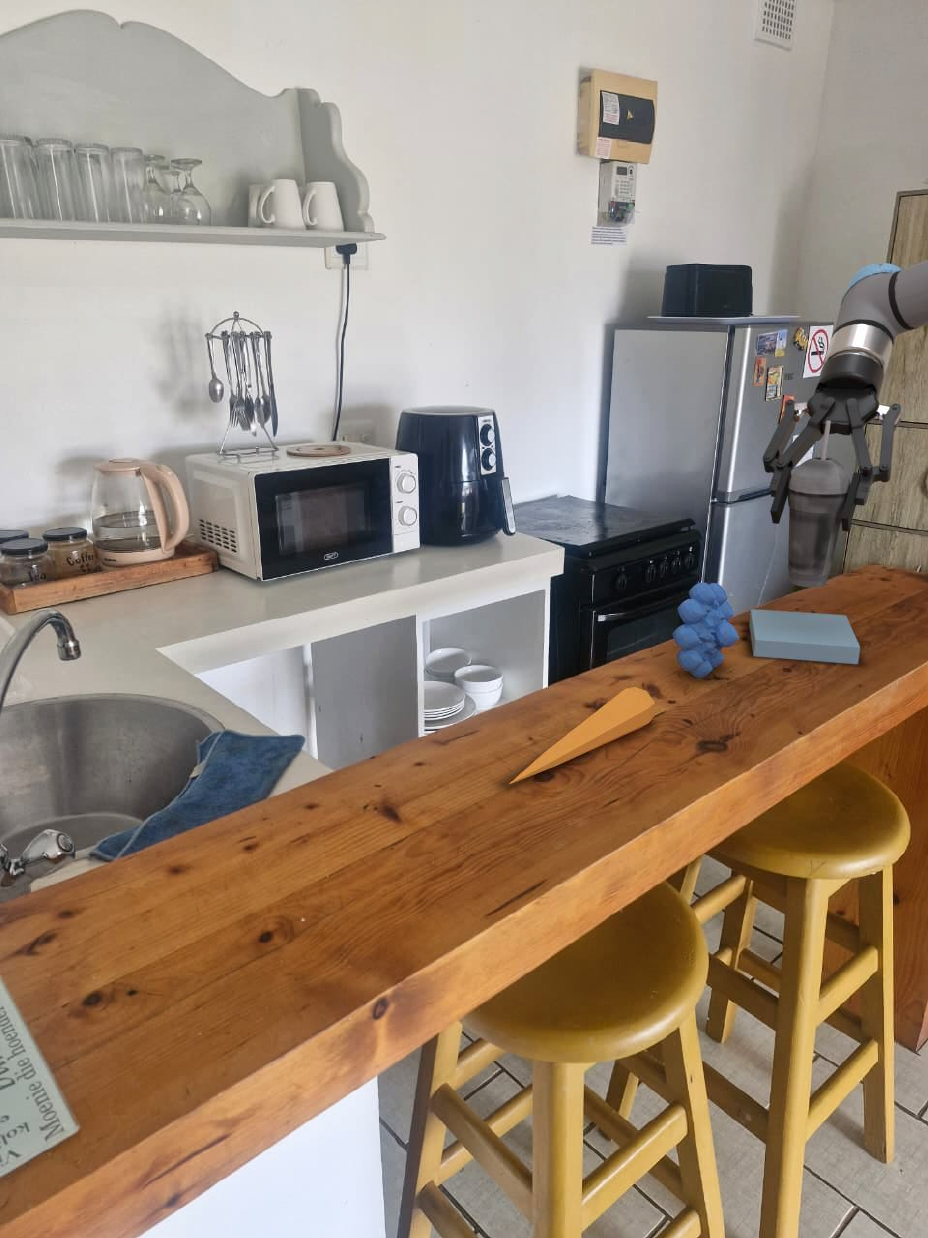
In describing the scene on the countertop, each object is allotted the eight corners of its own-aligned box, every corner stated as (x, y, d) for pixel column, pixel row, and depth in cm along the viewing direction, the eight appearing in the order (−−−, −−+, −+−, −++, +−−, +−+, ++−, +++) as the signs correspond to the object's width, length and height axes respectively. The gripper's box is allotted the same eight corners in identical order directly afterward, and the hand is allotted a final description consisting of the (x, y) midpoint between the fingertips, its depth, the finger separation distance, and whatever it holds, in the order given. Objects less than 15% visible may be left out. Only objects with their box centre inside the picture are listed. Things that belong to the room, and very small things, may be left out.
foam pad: (843, 632, 115) (845, 615, 115) (857, 666, 104) (860, 647, 104) (749, 626, 118) (750, 608, 118) (753, 658, 107) (755, 639, 107)
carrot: (635, 722, 93) (622, 683, 92) (668, 720, 89) (654, 680, 89) (501, 806, 81) (484, 762, 81) (531, 808, 77) (515, 762, 77)
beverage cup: (835, 575, 111) (856, 416, 104) (842, 592, 104) (865, 423, 98) (775, 572, 113) (792, 415, 106) (778, 588, 106) (797, 422, 100)
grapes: (710, 703, 95) (719, 599, 91) (656, 687, 100) (662, 587, 96) (756, 671, 103) (766, 575, 99) (703, 658, 108) (711, 565, 104)
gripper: (940, 393, 108) (902, 548, 101) (775, 388, 119) (729, 528, 111) (943, 351, 102) (902, 512, 95) (768, 349, 113) (719, 494, 105)
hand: (809, 520), depth 103 cm, fingers closed on beverage cup, 7 cm apart
